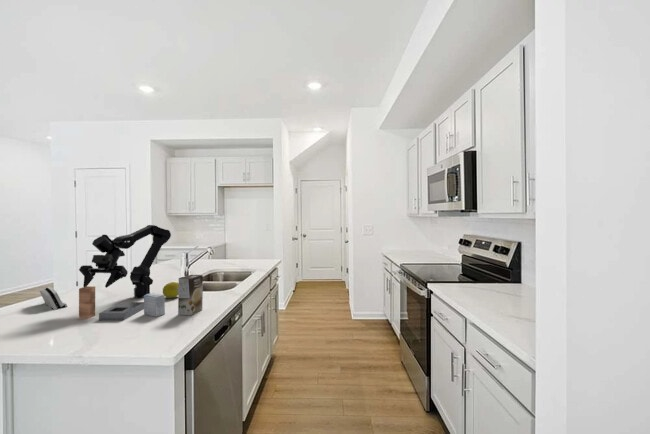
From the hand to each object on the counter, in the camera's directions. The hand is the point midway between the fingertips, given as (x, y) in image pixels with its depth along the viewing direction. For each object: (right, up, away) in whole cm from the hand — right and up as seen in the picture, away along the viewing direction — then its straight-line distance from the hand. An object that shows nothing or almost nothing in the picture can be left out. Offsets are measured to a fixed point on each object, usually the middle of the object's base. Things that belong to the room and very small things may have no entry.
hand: (95, 287), depth 139 cm
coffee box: (+41, -12, +3) cm, 43 cm away
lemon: (+21, -12, +27) cm, 36 cm away
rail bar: (+13, -12, -1) cm, 17 cm away
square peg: (0, -12, -5) cm, 13 cm away
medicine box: (+27, -12, -1) cm, 29 cm away
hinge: (-28, -11, +11) cm, 32 cm away
